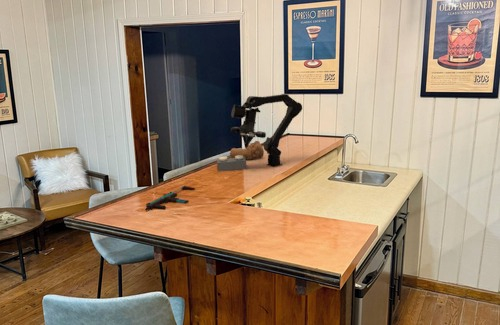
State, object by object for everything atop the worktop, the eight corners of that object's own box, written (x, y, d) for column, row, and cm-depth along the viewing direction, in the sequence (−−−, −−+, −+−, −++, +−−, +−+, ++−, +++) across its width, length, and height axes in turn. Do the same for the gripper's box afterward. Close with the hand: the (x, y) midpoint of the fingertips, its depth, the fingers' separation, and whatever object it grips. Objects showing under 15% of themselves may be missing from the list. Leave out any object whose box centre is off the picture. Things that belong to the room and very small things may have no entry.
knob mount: (245, 165, 236) (245, 157, 235) (246, 169, 229) (245, 160, 227) (218, 167, 236) (217, 159, 235) (217, 171, 228) (216, 162, 227)
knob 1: (228, 167, 234) (227, 156, 233) (228, 169, 230) (227, 157, 228) (219, 167, 234) (219, 156, 233) (219, 169, 230) (218, 158, 228)
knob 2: (243, 165, 235) (243, 154, 233) (244, 167, 230) (243, 156, 229) (235, 166, 234) (234, 155, 233) (235, 168, 230) (235, 157, 228)
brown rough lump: (256, 167, 245) (269, 155, 254) (251, 152, 240) (265, 140, 249) (231, 164, 256) (245, 152, 266) (227, 149, 251) (241, 137, 261)
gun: (169, 210, 167) (139, 206, 173) (169, 215, 168) (139, 211, 174) (207, 188, 195) (180, 185, 201) (207, 192, 196) (180, 189, 202)
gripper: (228, 117, 219) (224, 145, 221) (261, 122, 213) (257, 152, 215) (236, 116, 229) (232, 144, 232) (268, 122, 223) (263, 150, 226)
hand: (246, 147), depth 226 cm, fingers closed
